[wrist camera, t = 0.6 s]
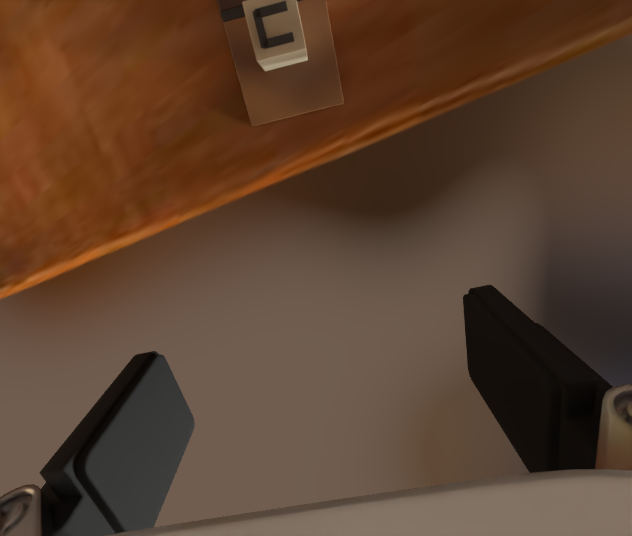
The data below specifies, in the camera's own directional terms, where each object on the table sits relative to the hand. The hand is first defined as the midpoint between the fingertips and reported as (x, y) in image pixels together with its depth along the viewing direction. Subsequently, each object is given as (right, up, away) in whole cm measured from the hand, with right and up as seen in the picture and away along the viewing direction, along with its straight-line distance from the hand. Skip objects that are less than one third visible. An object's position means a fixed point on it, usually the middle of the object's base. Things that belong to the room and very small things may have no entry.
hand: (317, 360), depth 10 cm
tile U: (-3, +23, +19) cm, 30 cm away
